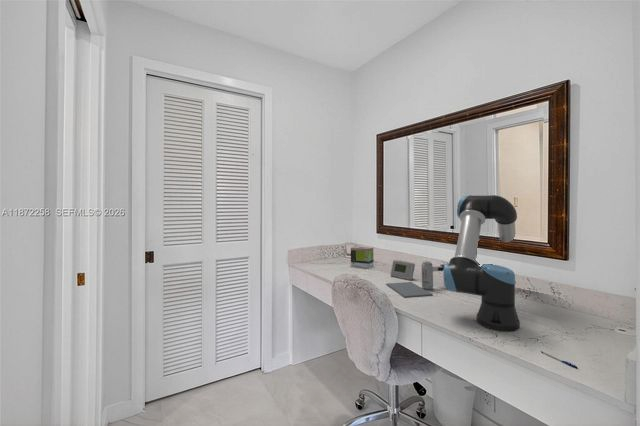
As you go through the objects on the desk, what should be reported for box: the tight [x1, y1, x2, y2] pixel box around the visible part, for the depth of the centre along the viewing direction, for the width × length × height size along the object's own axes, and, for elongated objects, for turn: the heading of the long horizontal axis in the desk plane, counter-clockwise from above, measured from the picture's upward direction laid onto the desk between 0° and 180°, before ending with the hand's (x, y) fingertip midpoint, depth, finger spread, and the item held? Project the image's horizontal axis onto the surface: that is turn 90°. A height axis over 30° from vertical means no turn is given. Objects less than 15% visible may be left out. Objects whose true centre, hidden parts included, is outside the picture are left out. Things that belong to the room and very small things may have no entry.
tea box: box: [350, 245, 375, 269], centre depth 229 cm, size 15×10×15 cm, turn 58°
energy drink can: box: [421, 260, 434, 291], centre depth 170 cm, size 6×6×15 cm
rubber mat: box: [385, 281, 434, 299], centre depth 169 cm, size 24×16×1 cm, turn 10°
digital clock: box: [390, 259, 416, 281], centre depth 195 cm, size 16×9×11 cm, turn 30°
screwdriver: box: [540, 351, 578, 370], centre depth 94 cm, size 10×1×1 cm, turn 22°
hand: (431, 268), depth 172 cm, fingers closed
